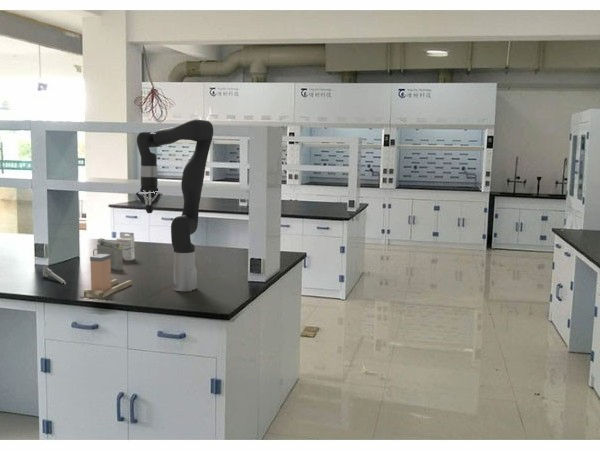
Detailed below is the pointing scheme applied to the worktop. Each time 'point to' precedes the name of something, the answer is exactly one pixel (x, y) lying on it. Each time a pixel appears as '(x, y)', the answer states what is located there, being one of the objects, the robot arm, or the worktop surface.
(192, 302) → the worktop surface
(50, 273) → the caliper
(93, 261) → the block
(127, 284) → the chute
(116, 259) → the geiger counter
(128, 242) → the ink cartridge box
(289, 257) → the worktop surface
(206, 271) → the worktop surface
